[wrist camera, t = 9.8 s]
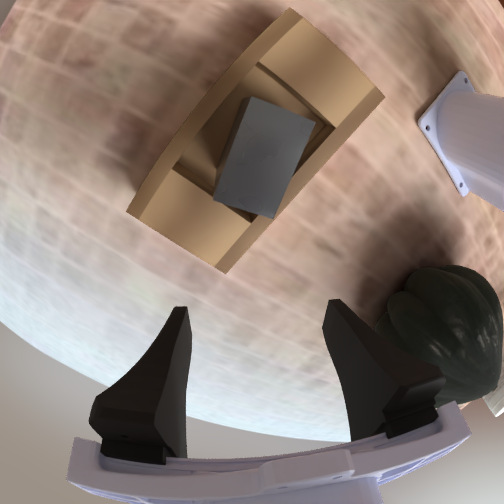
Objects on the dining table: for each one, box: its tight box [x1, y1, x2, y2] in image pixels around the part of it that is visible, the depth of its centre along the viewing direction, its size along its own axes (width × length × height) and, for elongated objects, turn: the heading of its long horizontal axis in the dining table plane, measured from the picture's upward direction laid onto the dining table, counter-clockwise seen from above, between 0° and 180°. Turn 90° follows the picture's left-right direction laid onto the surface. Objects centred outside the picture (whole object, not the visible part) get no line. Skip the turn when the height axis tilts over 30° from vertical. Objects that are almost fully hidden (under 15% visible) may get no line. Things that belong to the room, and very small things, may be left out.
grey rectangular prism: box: [213, 96, 316, 219], centre depth 15 cm, size 3×5×6 cm, turn 159°
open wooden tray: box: [126, 7, 385, 274], centre depth 17 cm, size 8×16×3 cm, turn 141°
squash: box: [374, 265, 503, 408], centre depth 23 cm, size 14×15×15 cm
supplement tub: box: [483, 331, 504, 416], centre depth 29 cm, size 10×10×15 cm
